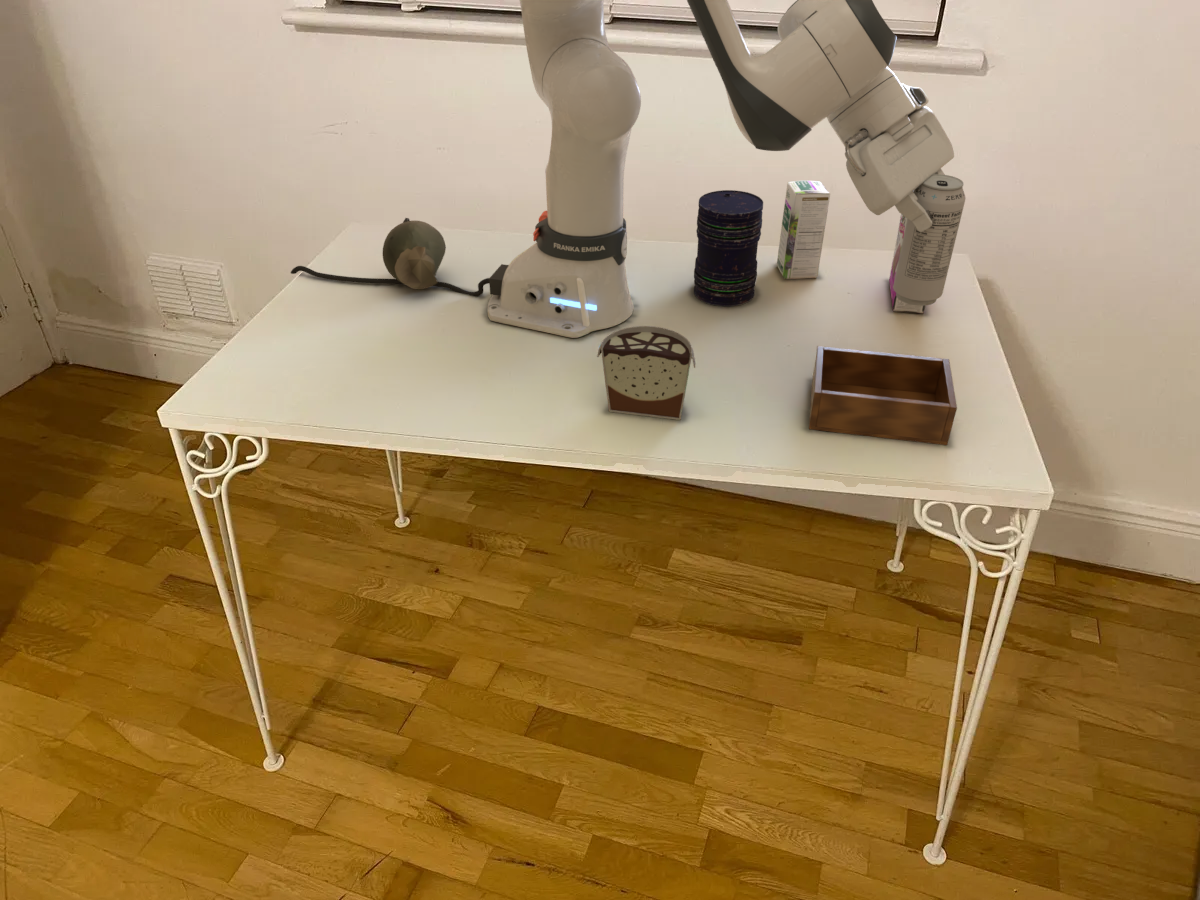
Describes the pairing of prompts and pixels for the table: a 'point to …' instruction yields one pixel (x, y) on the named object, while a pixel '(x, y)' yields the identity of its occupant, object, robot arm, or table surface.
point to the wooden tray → (882, 395)
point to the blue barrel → (727, 247)
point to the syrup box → (802, 229)
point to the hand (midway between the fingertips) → (939, 217)
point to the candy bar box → (896, 303)
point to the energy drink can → (930, 242)
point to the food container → (646, 371)
